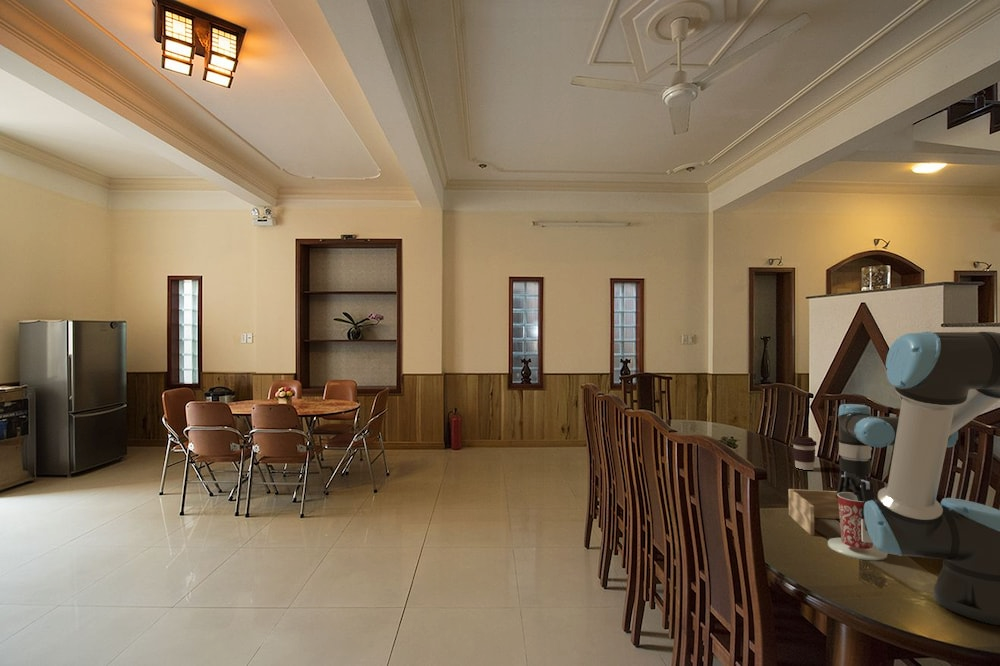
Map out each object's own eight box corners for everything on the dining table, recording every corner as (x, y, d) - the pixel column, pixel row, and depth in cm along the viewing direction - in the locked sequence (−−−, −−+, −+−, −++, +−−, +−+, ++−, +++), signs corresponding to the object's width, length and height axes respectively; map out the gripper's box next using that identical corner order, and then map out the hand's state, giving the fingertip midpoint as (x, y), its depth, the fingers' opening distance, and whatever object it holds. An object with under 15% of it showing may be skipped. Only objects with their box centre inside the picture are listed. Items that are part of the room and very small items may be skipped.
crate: (872, 539, 151) (871, 509, 152) (810, 535, 155) (810, 506, 155) (843, 518, 170) (843, 491, 170) (788, 514, 173) (788, 488, 173)
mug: (877, 553, 136) (876, 503, 136) (837, 545, 141) (836, 497, 141) (876, 538, 146) (875, 492, 146) (838, 532, 151) (838, 487, 152)
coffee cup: (796, 465, 241) (796, 434, 241) (820, 469, 233) (819, 437, 233) (788, 469, 234) (788, 437, 235) (812, 473, 227) (811, 440, 227)
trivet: (898, 562, 136) (898, 559, 136) (841, 558, 138) (841, 555, 138) (871, 542, 149) (871, 539, 149) (819, 538, 152) (819, 536, 152)
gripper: (893, 468, 132) (895, 551, 131) (849, 449, 155) (850, 519, 155) (861, 467, 133) (863, 549, 133) (822, 448, 157) (824, 518, 156)
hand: (856, 533), depth 144 cm, fingers closed on mug, 12 cm apart
